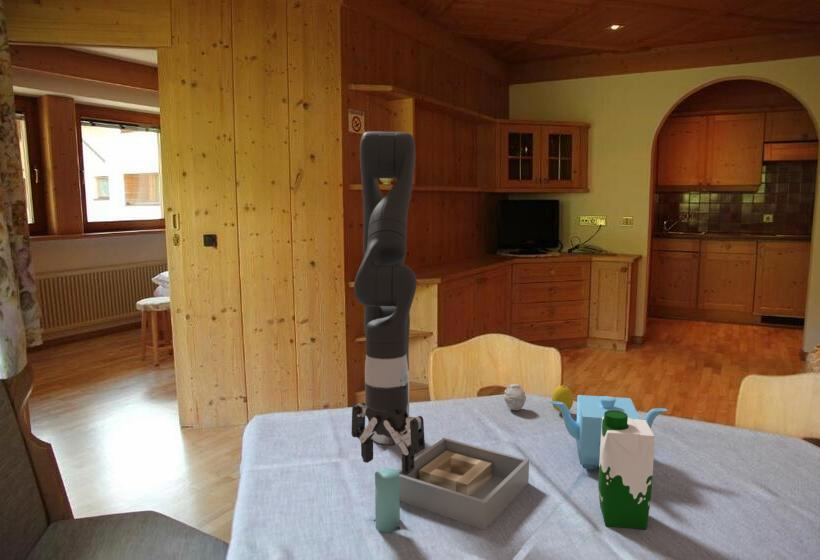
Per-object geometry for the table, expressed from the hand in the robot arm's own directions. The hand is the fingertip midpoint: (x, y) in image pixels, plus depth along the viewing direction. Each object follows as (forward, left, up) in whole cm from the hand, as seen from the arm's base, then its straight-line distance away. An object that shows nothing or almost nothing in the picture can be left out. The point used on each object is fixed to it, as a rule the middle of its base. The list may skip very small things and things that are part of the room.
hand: (387, 466), depth 106 cm
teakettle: (+26, +47, -12) cm, 55 cm away
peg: (0, 0, -12) cm, 12 cm away
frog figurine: (-4, +66, -12) cm, 67 cm away
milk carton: (+35, +26, -12) cm, 45 cm away
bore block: (+3, +20, -11) cm, 23 cm away
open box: (+6, +17, -12) cm, 21 cm away
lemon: (+8, +70, -12) cm, 71 cm away
